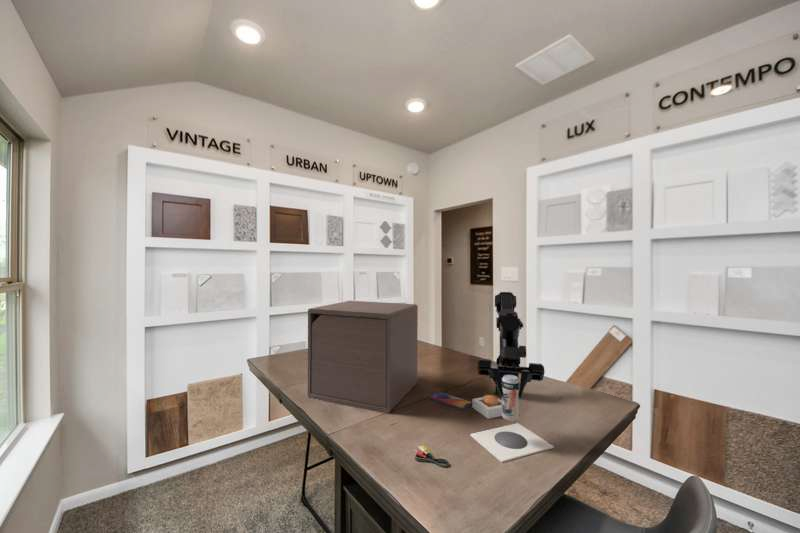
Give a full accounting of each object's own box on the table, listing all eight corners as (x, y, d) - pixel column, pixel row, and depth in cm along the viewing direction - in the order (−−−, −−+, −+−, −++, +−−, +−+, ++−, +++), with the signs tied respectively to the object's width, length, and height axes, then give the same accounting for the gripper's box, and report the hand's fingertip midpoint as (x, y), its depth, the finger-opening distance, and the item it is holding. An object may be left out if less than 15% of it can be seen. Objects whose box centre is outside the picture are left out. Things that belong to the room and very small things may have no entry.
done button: (492, 399, 114) (492, 394, 114) (501, 405, 110) (501, 399, 110) (480, 401, 112) (480, 396, 112) (489, 407, 108) (489, 401, 108)
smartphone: (439, 394, 127) (439, 391, 127) (473, 404, 117) (473, 401, 117) (428, 399, 121) (428, 396, 121) (462, 411, 111) (462, 408, 111)
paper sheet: (517, 424, 102) (517, 422, 102) (553, 447, 89) (553, 445, 89) (470, 435, 95) (470, 433, 95) (501, 462, 82) (501, 460, 82)
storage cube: (307, 397, 121) (307, 307, 121) (347, 373, 148) (347, 300, 148) (389, 414, 108) (390, 313, 108) (417, 384, 135) (417, 304, 135)
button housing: (492, 403, 117) (492, 395, 117) (509, 414, 109) (509, 405, 109) (472, 407, 114) (472, 399, 114) (488, 418, 105) (488, 409, 105)
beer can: (498, 417, 93) (498, 376, 92) (508, 412, 95) (508, 372, 95) (512, 424, 89) (512, 381, 88) (522, 419, 91) (522, 377, 91)
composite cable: (451, 465, 81) (451, 455, 81) (440, 475, 77) (440, 464, 77) (420, 450, 88) (420, 441, 88) (409, 458, 84) (409, 449, 84)
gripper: (478, 332, 98) (476, 381, 88) (543, 336, 93) (550, 389, 82) (479, 351, 106) (477, 397, 95) (539, 356, 101) (545, 405, 90)
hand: (510, 397), depth 91 cm, fingers closed on beer can, 5 cm apart
